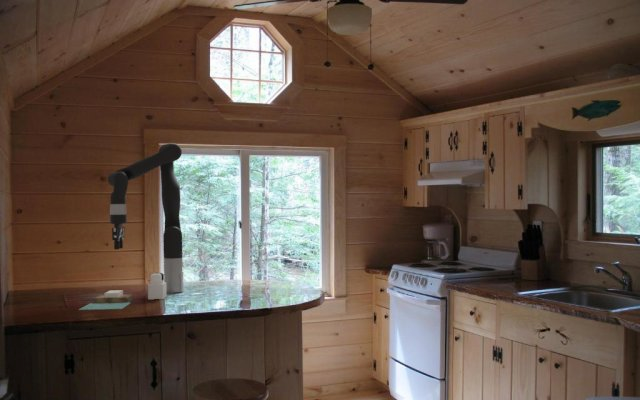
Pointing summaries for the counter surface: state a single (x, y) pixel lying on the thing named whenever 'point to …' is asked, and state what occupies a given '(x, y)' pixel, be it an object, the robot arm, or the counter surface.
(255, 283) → the counter surface
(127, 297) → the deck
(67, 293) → the counter surface
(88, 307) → the mat
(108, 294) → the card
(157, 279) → the medicine bottle
